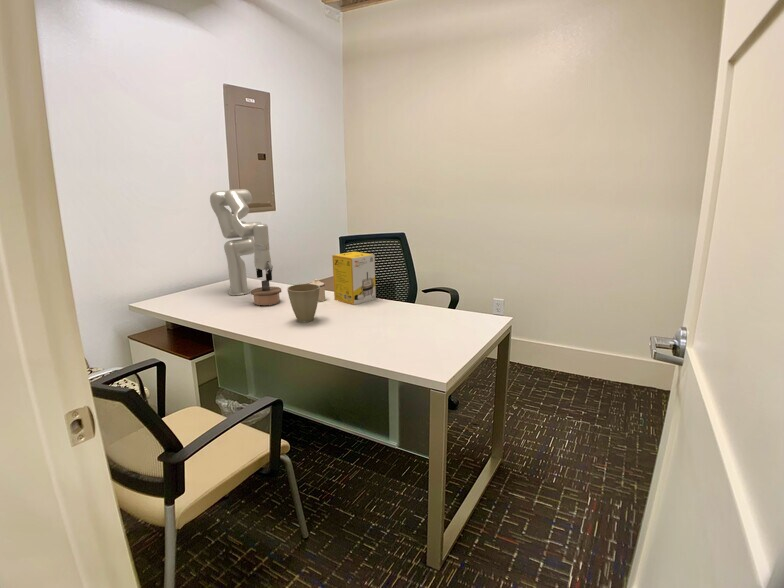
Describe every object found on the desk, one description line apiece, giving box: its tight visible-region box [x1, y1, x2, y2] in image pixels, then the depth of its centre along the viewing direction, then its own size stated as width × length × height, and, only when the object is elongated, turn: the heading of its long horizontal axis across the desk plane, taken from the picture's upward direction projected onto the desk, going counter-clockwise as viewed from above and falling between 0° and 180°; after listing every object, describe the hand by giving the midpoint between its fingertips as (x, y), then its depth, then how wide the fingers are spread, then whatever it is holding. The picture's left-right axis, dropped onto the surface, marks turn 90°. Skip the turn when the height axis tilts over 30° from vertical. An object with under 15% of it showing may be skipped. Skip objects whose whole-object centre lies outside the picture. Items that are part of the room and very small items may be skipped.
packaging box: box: [331, 251, 377, 306], centre depth 240 cm, size 16×16×25 cm
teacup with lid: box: [308, 278, 326, 303], centre depth 243 cm, size 12×9×12 cm
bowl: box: [253, 293, 281, 306], centre depth 238 cm, size 12×12×6 cm
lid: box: [250, 279, 282, 297], centre depth 237 cm, size 16×16×6 cm
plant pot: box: [286, 283, 320, 323], centre depth 207 cm, size 15×15×16 cm
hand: (264, 278), depth 236 cm, fingers open, 9 cm apart
